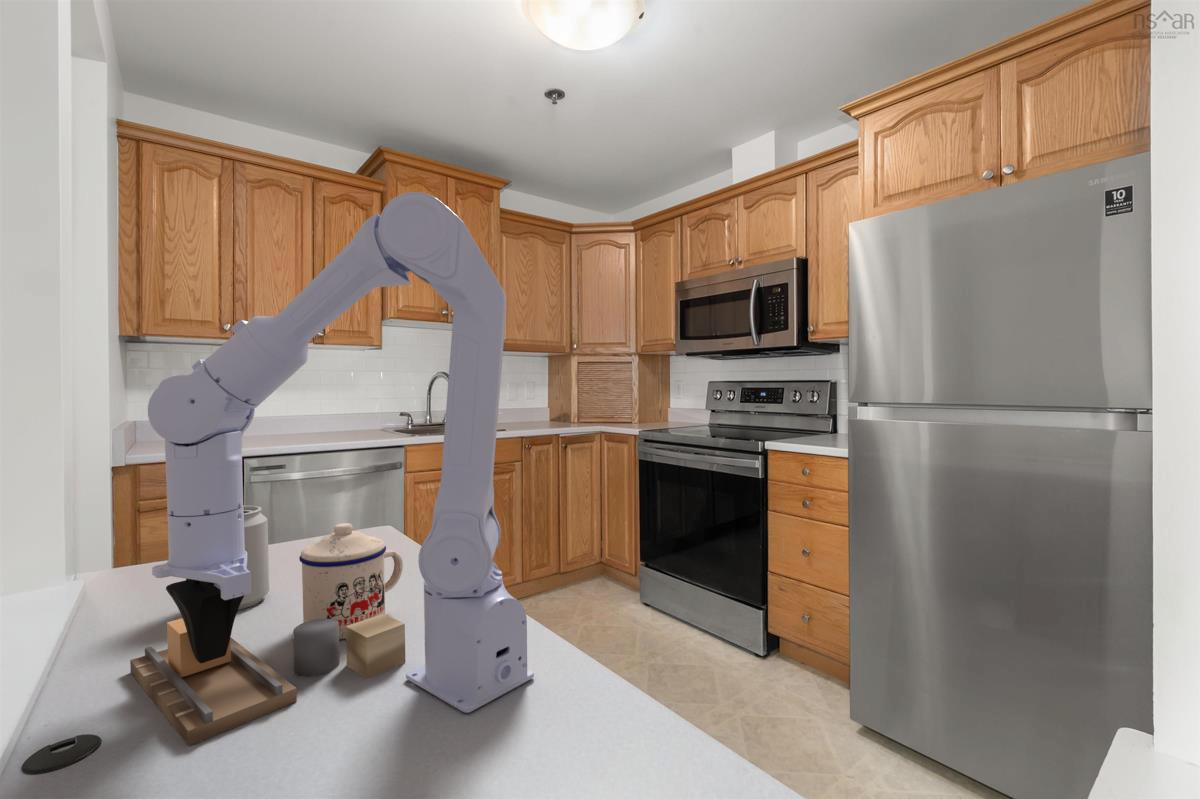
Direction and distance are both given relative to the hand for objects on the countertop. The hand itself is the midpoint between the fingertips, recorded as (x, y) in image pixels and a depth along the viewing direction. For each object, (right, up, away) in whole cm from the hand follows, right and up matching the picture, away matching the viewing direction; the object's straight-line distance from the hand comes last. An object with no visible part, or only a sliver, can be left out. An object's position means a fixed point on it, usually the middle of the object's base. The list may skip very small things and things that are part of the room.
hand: (210, 657), depth 53 cm
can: (-11, -3, +21) cm, 24 cm away
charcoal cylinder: (+8, -3, +4) cm, 9 cm away
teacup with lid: (+7, -3, +15) cm, 17 cm away
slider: (-3, -2, +2) cm, 4 cm away
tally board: (-1, -3, +1) cm, 3 cm away
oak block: (+13, -3, +5) cm, 14 cm away
